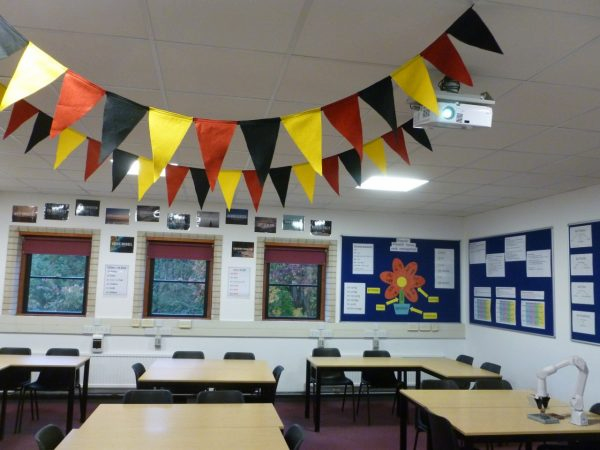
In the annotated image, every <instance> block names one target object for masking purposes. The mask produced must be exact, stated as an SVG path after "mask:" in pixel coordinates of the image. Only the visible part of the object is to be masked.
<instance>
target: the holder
mask: <svg viewBox="0 0 600 450" xmlns="http://www.w3.org/2000/svg"><path fill="white" fill-rule="evenodd" d="M545 415H548V416H551V417H554V418H557V419H559V421H560V420H562V421H563V420H565V417H564V416H563V415H561V414H557V413H555V412H552V413H551V412H549V413H546V412H545Z"/></svg>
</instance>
